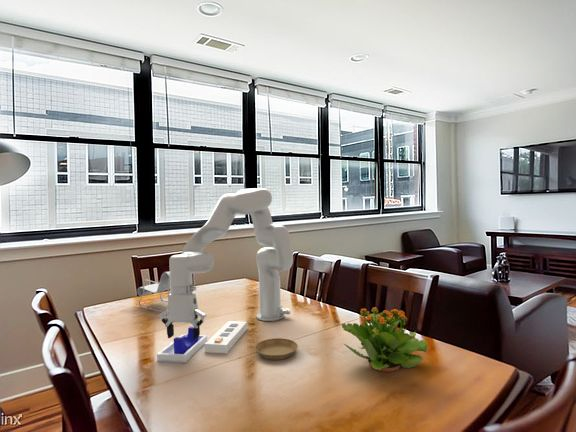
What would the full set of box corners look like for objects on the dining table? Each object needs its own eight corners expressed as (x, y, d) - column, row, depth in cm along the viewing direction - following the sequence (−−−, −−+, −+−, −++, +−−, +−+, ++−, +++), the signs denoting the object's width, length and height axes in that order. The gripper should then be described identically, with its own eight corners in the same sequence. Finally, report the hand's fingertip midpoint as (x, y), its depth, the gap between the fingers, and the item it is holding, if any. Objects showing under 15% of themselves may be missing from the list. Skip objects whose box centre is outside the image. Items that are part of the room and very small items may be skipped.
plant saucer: (249, 349, 128) (249, 342, 128) (287, 342, 134) (287, 335, 134) (263, 366, 114) (263, 358, 114) (304, 357, 120) (304, 350, 120)
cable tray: (207, 341, 135) (207, 335, 135) (185, 363, 118) (184, 355, 117) (182, 340, 137) (182, 334, 137) (157, 361, 119) (156, 354, 119)
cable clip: (186, 342, 134) (186, 326, 133) (198, 342, 133) (197, 326, 133) (170, 356, 122) (169, 338, 122) (182, 356, 121) (181, 339, 121)
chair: (169, 314, 171) (168, 273, 170) (137, 306, 184) (135, 268, 183) (191, 306, 182) (190, 268, 181) (159, 300, 195) (157, 264, 194)
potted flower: (411, 394, 96) (410, 329, 95) (330, 373, 108) (329, 316, 108) (429, 358, 117) (429, 305, 116) (360, 344, 130) (359, 296, 129)
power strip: (247, 328, 148) (247, 320, 148) (226, 353, 124) (226, 343, 124) (228, 328, 149) (228, 319, 149) (205, 352, 126) (204, 342, 126)
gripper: (209, 287, 128) (210, 334, 129) (164, 286, 132) (166, 332, 132) (200, 293, 121) (201, 342, 122) (153, 291, 124) (155, 340, 125)
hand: (183, 337), depth 127 cm, fingers open, 9 cm apart
